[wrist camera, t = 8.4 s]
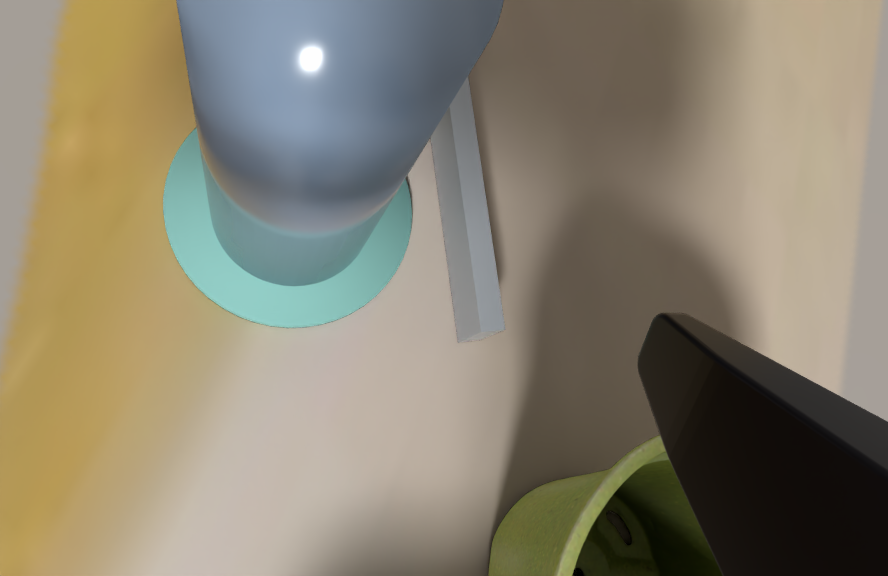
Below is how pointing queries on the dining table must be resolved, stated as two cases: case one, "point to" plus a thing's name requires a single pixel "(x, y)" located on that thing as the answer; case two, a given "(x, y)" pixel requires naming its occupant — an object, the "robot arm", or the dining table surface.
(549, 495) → the plant pot
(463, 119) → the acrylic wall
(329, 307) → the coaster
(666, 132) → the dining table surface
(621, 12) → the dining table surface
